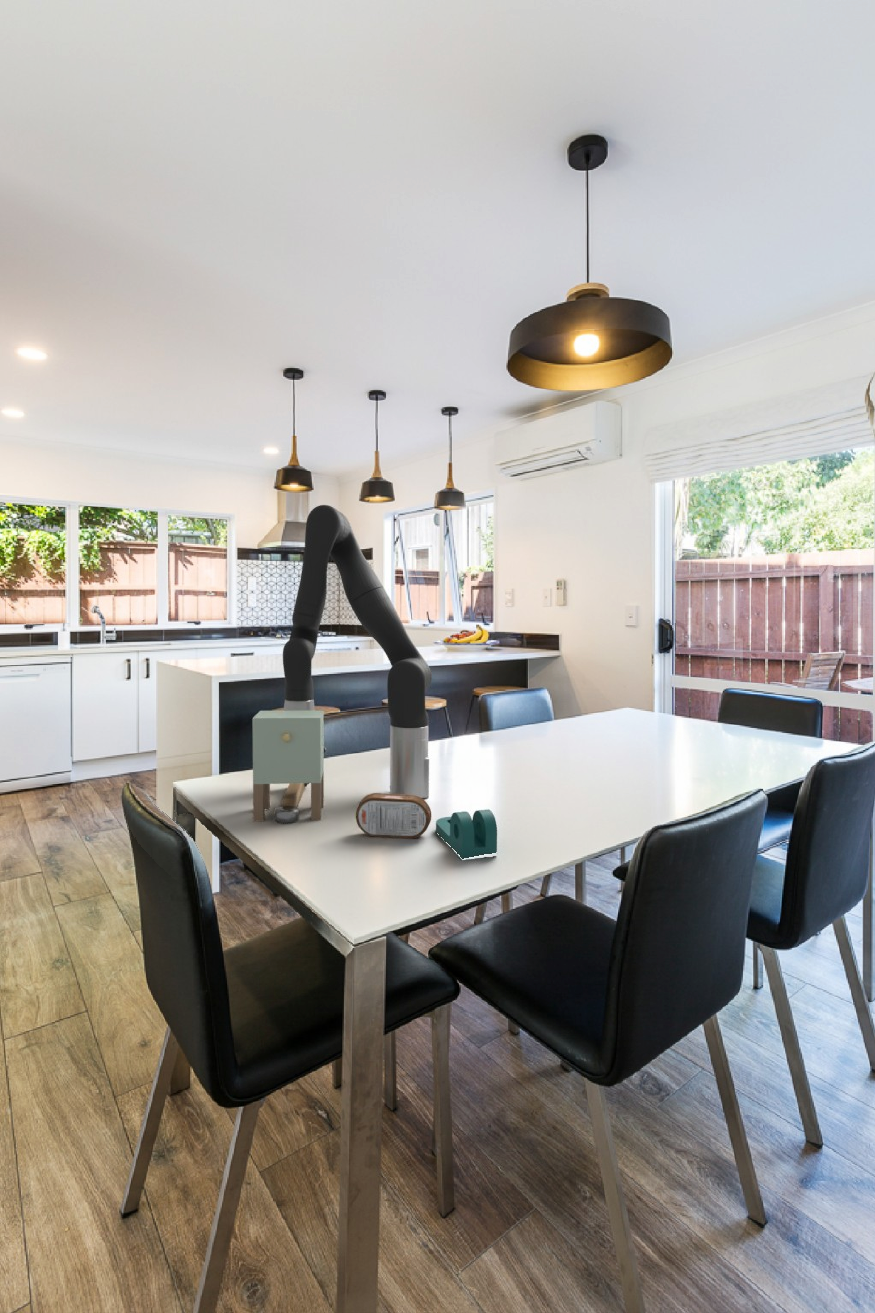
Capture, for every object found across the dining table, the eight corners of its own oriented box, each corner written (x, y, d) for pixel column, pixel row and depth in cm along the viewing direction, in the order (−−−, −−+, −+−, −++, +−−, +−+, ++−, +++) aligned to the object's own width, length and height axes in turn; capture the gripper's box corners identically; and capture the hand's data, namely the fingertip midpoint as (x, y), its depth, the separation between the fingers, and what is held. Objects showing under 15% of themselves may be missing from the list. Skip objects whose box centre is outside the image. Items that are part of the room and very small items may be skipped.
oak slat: (305, 786, 162) (305, 771, 161) (294, 816, 138) (293, 798, 138) (295, 787, 161) (295, 771, 161) (282, 816, 138) (282, 798, 138)
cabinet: (323, 805, 146) (323, 710, 144) (320, 821, 135) (320, 718, 133) (261, 807, 144) (260, 710, 143) (252, 823, 133) (251, 719, 132)
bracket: (496, 857, 117) (497, 815, 116) (462, 862, 115) (462, 819, 114) (462, 826, 134) (462, 789, 133) (431, 829, 132) (432, 791, 131)
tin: (431, 835, 128) (431, 794, 127) (429, 841, 125) (430, 798, 124) (357, 832, 129) (357, 791, 129) (354, 837, 126) (354, 795, 125)
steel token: (300, 817, 138) (300, 806, 138) (296, 824, 133) (296, 813, 133) (277, 816, 138) (277, 805, 138) (272, 824, 133) (272, 813, 133)
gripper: (328, 715, 163) (328, 781, 164) (273, 715, 161) (273, 782, 162) (326, 720, 155) (326, 789, 156) (268, 720, 154) (268, 790, 155)
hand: (299, 785), depth 159 cm, fingers closed on oak slat, 2 cm apart
